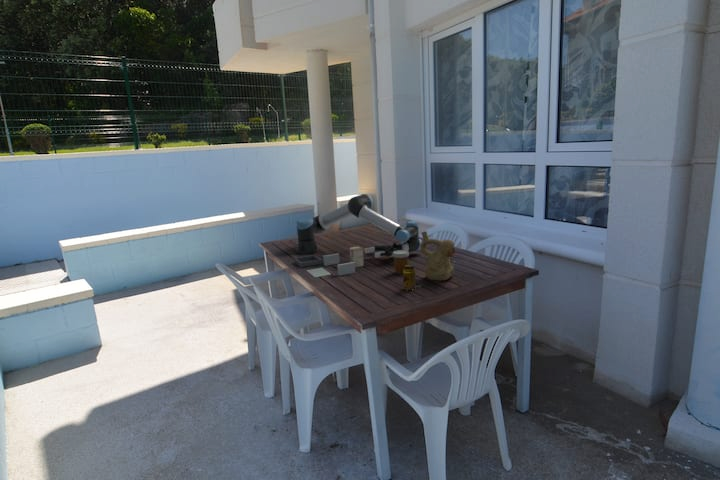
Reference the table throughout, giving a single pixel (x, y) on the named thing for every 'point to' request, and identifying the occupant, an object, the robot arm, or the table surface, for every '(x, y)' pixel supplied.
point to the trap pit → (308, 261)
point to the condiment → (409, 277)
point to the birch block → (356, 256)
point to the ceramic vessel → (438, 258)
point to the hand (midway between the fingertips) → (370, 252)
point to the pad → (318, 272)
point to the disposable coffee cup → (400, 260)
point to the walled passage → (342, 268)
